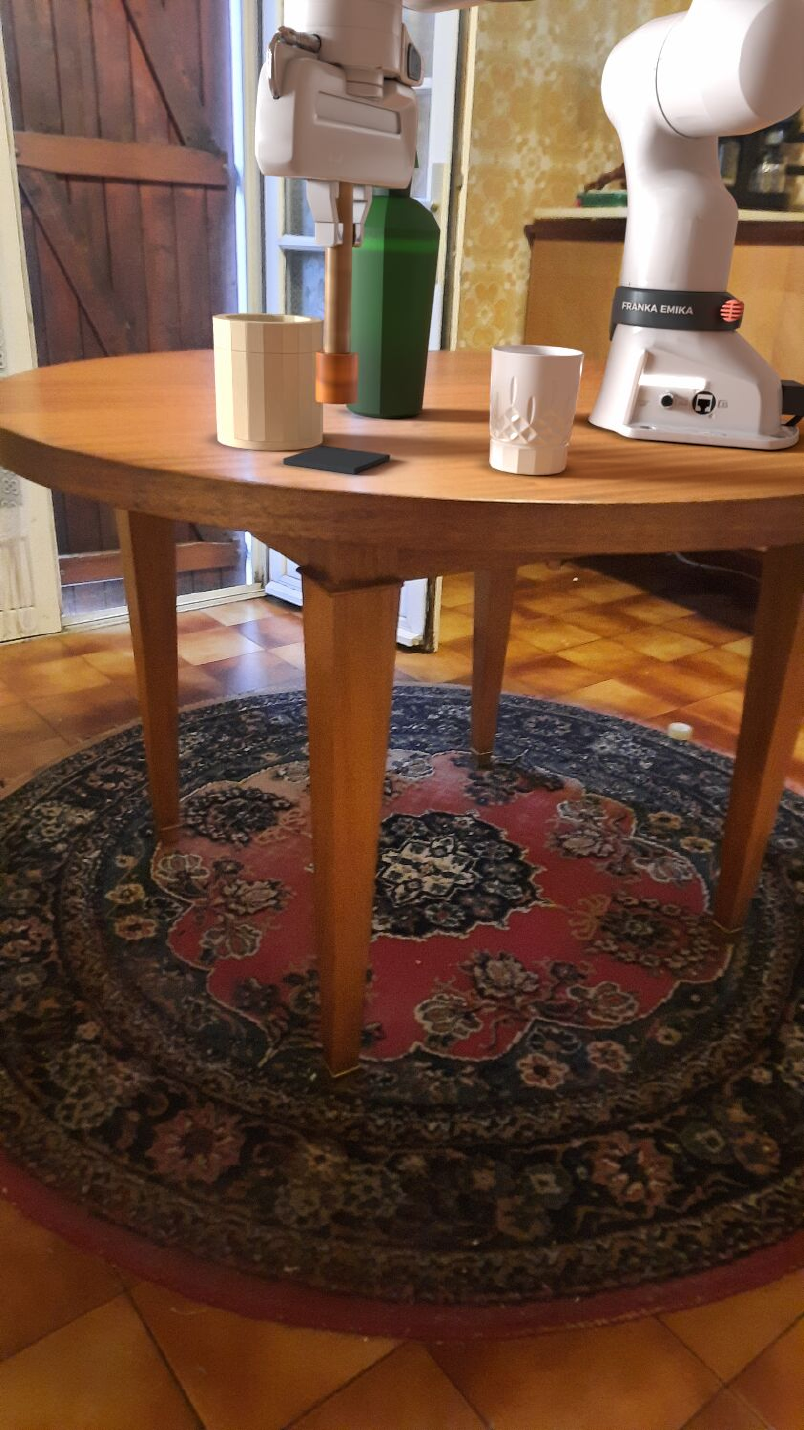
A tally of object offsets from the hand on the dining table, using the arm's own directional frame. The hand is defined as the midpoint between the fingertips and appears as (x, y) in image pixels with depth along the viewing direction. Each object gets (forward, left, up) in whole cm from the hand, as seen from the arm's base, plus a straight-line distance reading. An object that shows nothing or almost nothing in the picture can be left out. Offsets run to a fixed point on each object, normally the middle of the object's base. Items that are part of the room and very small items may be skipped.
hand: (339, 247), depth 83 cm
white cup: (-15, -8, -18) cm, 24 cm away
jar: (+10, -5, -17) cm, 21 cm away
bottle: (+8, -26, -18) cm, 32 cm away
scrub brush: (0, 0, -12) cm, 12 cm away
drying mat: (0, 0, -17) cm, 17 cm away
